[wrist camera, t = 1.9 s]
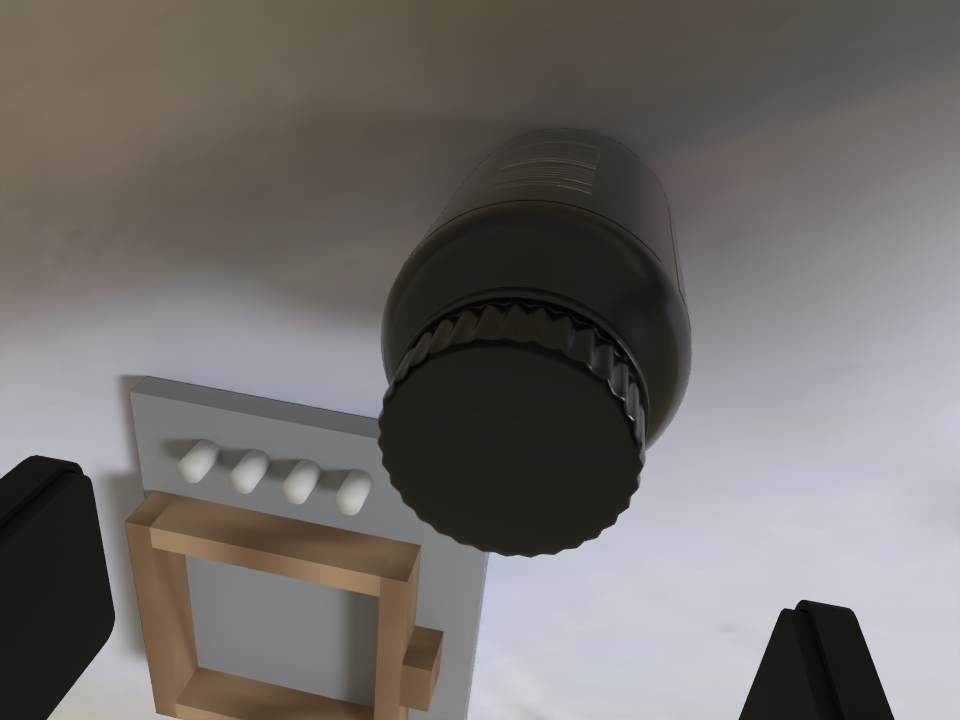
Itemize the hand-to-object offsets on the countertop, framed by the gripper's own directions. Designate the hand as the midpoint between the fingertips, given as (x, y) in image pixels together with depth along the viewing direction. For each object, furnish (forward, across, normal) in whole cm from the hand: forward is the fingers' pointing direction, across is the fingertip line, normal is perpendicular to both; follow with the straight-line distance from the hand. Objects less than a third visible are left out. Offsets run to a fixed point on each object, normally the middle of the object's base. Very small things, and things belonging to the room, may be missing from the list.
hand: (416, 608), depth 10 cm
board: (+16, +7, +17) cm, 24 cm away
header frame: (+15, +8, +18) cm, 24 cm away
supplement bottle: (+16, -1, 0) cm, 16 cm away
